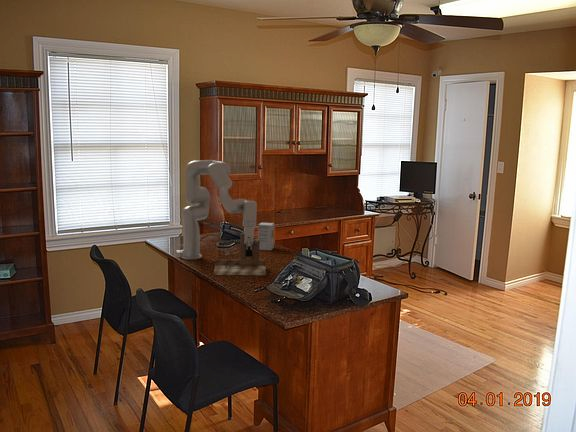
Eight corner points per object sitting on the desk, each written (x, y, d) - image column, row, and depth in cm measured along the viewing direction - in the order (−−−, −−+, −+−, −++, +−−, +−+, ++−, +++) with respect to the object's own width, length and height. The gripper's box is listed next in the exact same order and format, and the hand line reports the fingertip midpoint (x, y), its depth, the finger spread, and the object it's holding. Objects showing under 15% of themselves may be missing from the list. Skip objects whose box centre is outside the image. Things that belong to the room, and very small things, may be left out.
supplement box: (271, 250, 330) (271, 225, 327) (257, 249, 331) (257, 224, 328) (273, 247, 339) (274, 222, 336) (260, 246, 341) (261, 222, 338)
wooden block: (259, 264, 282) (259, 233, 279) (240, 265, 279) (240, 233, 276) (257, 263, 286) (258, 232, 283) (238, 264, 282) (239, 232, 279)
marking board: (213, 274, 272) (213, 265, 271) (215, 267, 286) (215, 259, 285) (265, 275, 274) (266, 266, 273) (265, 268, 288) (265, 259, 287)
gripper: (242, 220, 286) (242, 251, 289) (242, 226, 270) (241, 259, 273) (256, 220, 287) (255, 251, 290) (256, 226, 270) (255, 259, 273)
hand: (248, 255), depth 281 cm, fingers closed on wooden block, 4 cm apart
